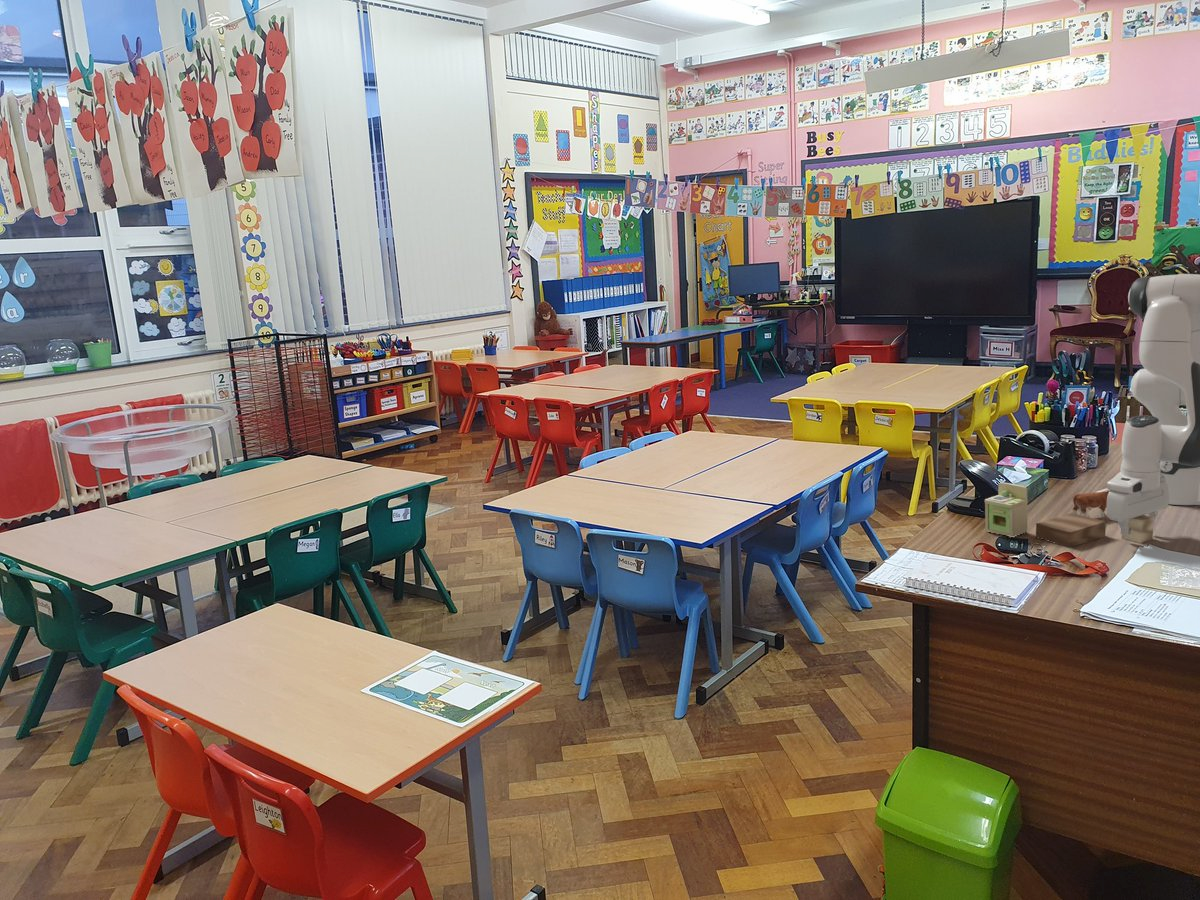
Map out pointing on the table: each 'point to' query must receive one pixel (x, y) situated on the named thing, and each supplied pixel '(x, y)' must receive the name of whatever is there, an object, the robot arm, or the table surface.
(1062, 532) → the base block
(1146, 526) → the maple block
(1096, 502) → the bull figurine
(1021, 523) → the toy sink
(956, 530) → the table surface
